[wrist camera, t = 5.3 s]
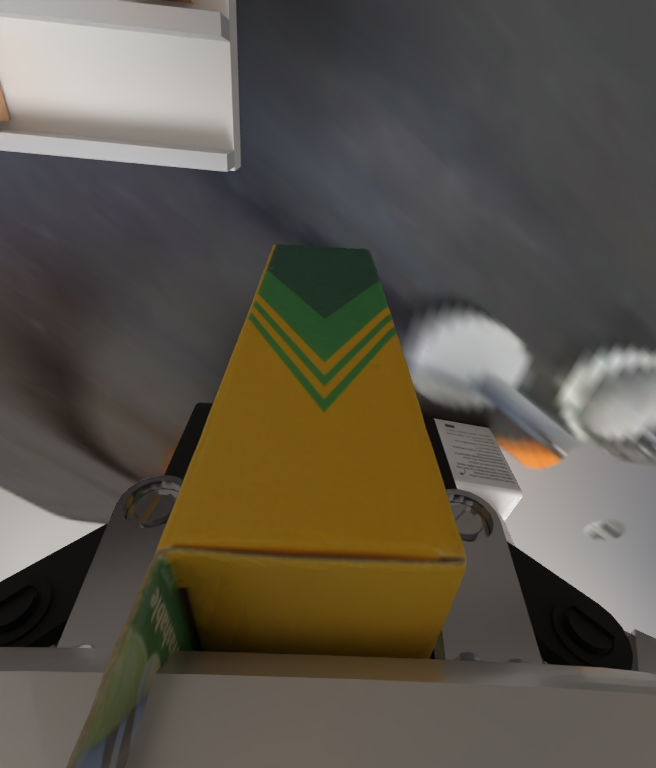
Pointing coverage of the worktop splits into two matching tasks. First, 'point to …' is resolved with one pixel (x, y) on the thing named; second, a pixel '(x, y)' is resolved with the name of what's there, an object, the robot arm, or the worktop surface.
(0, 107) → the light orange block
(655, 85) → the worktop surface
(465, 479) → the container
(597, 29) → the worktop surface
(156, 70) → the white divided tray
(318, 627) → the crayon box
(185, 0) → the tan rectangular block
